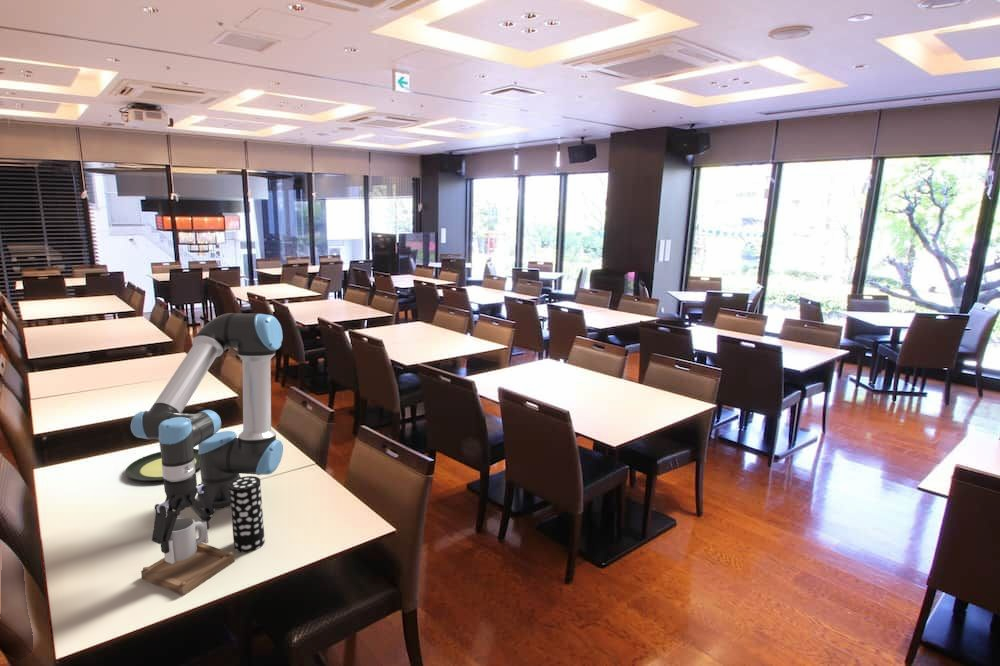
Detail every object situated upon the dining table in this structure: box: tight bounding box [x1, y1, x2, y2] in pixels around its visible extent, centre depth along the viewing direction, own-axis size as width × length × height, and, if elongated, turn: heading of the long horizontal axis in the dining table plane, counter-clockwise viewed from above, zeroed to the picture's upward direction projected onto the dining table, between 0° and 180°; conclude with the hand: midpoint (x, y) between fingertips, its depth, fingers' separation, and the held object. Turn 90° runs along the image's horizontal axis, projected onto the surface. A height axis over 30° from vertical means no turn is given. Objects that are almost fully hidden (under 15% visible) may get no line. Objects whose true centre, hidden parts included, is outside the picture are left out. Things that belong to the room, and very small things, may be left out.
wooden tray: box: [140, 543, 236, 596], centre depth 153 cm, size 16×16×3 cm
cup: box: [170, 517, 206, 561], centre depth 151 cm, size 7×10×9 cm
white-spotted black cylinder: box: [229, 475, 266, 553], centre depth 163 cm, size 8×8×20 cm
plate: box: [124, 448, 200, 482], centre depth 213 cm, size 28×28×2 cm
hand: (187, 551), depth 152 cm, fingers closed on cup, 10 cm apart
